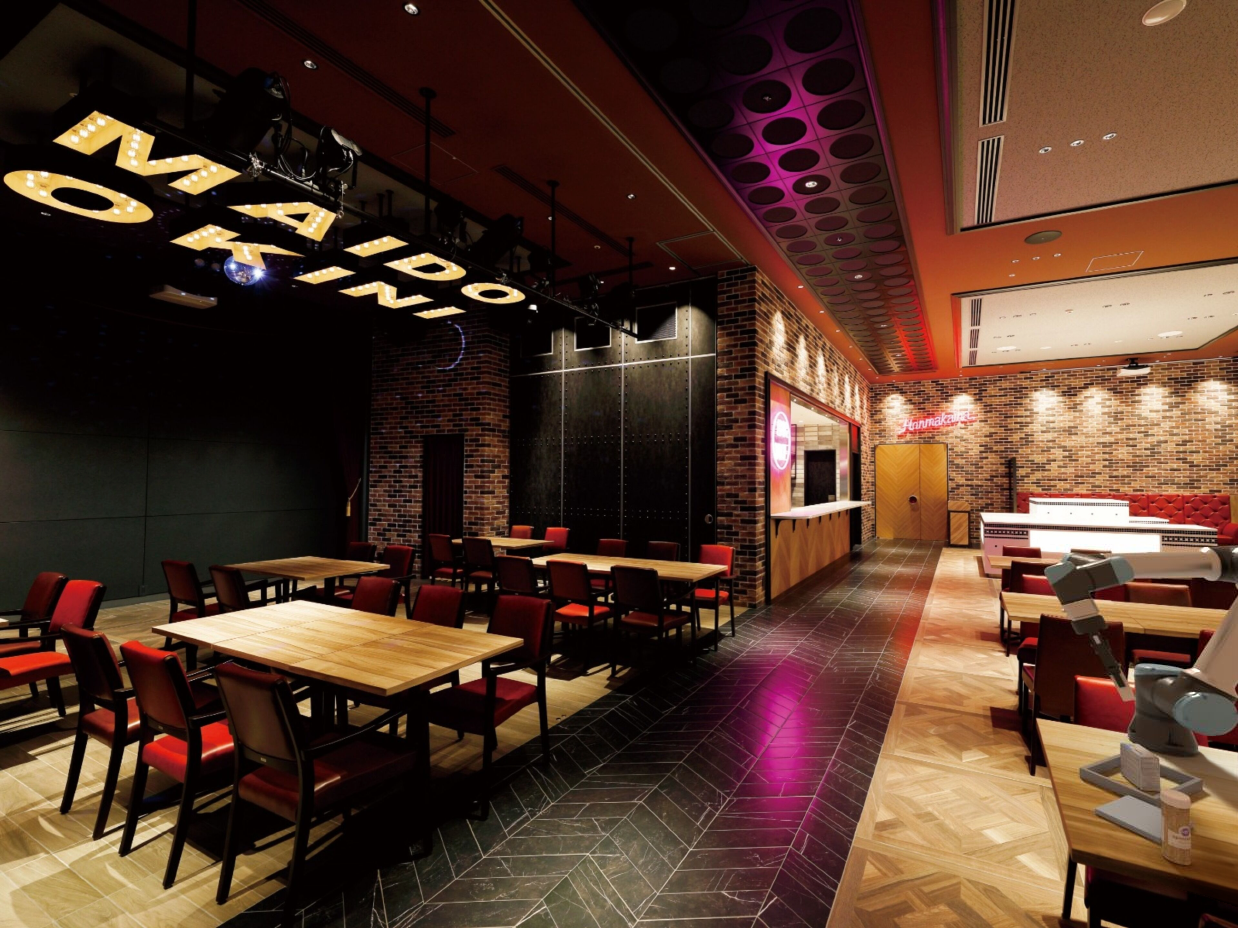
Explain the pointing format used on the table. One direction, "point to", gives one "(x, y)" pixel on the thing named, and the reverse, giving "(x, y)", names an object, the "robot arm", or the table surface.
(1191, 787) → the grey rectangular frame
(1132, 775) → the medicine box
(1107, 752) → the table surface
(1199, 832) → the table surface
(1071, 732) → the table surface
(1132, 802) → the board
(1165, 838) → the sprinkles bottle
